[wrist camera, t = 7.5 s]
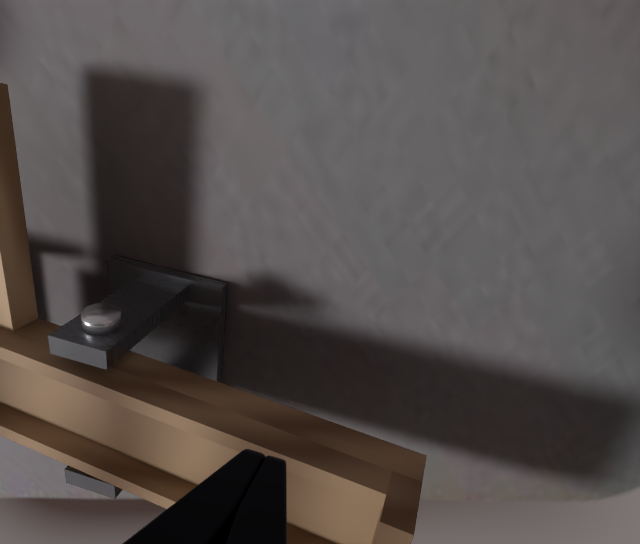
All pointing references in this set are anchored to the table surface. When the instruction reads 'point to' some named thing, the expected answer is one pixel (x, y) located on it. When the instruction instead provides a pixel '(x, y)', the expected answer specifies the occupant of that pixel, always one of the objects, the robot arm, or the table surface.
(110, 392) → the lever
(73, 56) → the table surface
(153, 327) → the stand
